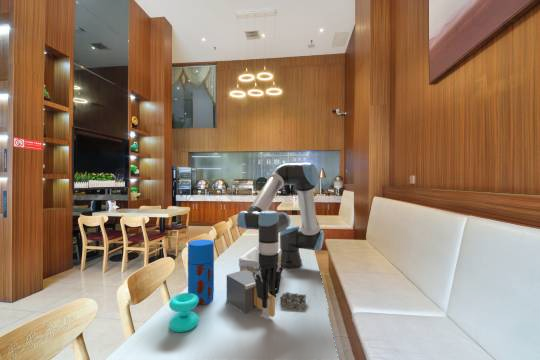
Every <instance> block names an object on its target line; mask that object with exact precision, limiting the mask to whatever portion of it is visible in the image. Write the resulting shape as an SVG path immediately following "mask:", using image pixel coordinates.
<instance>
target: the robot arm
mask: <svg viewBox="0 0 540 360" xmlns="http://www.w3.org/2000/svg"><path fill="white" fill-rule="evenodd" d="M318 183H319V173H318V169H317V166H316V165H315V164H314V163H312V162H294V163H283V164H280V165H278V167H276V168H275V169H273V170H272V171H271V172H270V173H269V174H268V176H267V179H266V182H265V184H264V185H263V187H262V188H261V190H260V191H259V193H258V194H257V195H256V198H255V199H254V200H253V202H252V203H251V204H250V207H249V208H248V209H247V210H242V211H240V212H238V214H237V217H236V222H237V224H238V227H240V228H241V229H246V230H257V231H258V246H259V265H260V266H259V269H258V270H259V271H258V272H257V273H254V274H253V277H254V278H255V283H256V290H257V296H258V298H260V299H262V307H263V311H262V313H263V315H264V316H265V317H267V318H270V299H268V293H269V294H271V295H273V296H275V299H276V298H277V296H278V294H279V293H280V286H281V280H282V279H281V278H282V272H283V271H284V268H285V269H286V268H288V269H291V268H292V269H294V268H299V267H302V265H303V264H302V263H303V260H302V257H301V254H300V249H301V250H310V251H320V250H321V249H322V248H323V243H324V239H325V238H324V236H325V231H324V230H322V229H321V227H320V225H318V221H317V213H316V212H317V211H316V204H315V203H316V202H315V196H314V189H315V188H316V186H317V185H318ZM288 185H289V186H290V185H291V186H293V189H294V190H295V191H296V192H297V199H298V206H299V213H300V220H301V226H300V227H299V225H295V224H294V225H291V218H290V215H288V214H287V213H286V212H284V211H283V212H282V211H281V212H278V211H276V210H269V209H270V206H271V205H272V203H273V201H274V199H275V197H276V196H277V194H278V192H279V190H280V189H282V188H283V187H284V186H288ZM278 248H280V249H281V251H282V253H281V265H280V266H281V267H280V266H278V264H277V263H278V253H277V252H278ZM261 279H262V280H261ZM268 284H269V291H268Z"/></svg>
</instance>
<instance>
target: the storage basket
mask: <svg viewBox="0 0 540 360" xmlns="http://www.w3.org/2000/svg"><path fill="white" fill-rule="evenodd" d="M277 253H278V263H277V264H278V266H280V265H281V253H282V251H281V249H280V247H278V252H277ZM238 266H239V271H242V270H248V271H250V272H252V273H257V272H258V271H259V270H258V269H259V266H260V265H259V245H258V246H256V245H255V246H254V247H253V248H251V249H250V250H248V251H247V252H246V253H244V254H243V255H242V256H240V257H239V259H238ZM280 267H281V266H280ZM268 292H269V284H268Z"/></svg>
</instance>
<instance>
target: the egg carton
mask: <svg viewBox="0 0 540 360" xmlns="http://www.w3.org/2000/svg"><path fill="white" fill-rule="evenodd" d="M279 300H280V301H279V304H280V305H279V306H281V307H284V308H285V307H289V308H290V309H294V308H297V309H298V310H302V309H305V305H306V304H307V302H306V301H307V294H306V293H305V294H300V293H291V292H290V291H286V292H283V293H282V294H281V296H279Z"/></svg>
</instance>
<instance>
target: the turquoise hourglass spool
mask: <svg viewBox="0 0 540 360" xmlns="http://www.w3.org/2000/svg"><path fill="white" fill-rule="evenodd" d="M198 302H199V299H198V296H197V295H195V294H193V293H188V292H181V293H179V294H176V295H175V296H173V297H172V298H171V299H170V301H169V308H170V310H172V311H174V312H176V314H174V315H173V316H172V317H171V319H170V320H169V323H168V326H169V328H170V329H171V331H173V332H176V333H184V332H189V331H190V330H192V329H194V328H195V327H196V326H197V325H198V323H199V320H200V319H199V315H198V314H197V313H196V312H195V311H192V310H194V309H195V308H196V307H197V304H198Z"/></svg>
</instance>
